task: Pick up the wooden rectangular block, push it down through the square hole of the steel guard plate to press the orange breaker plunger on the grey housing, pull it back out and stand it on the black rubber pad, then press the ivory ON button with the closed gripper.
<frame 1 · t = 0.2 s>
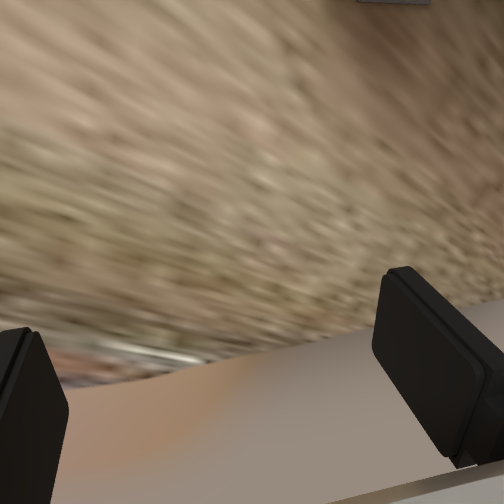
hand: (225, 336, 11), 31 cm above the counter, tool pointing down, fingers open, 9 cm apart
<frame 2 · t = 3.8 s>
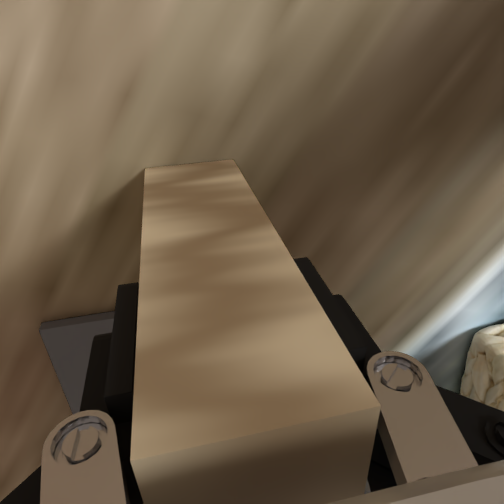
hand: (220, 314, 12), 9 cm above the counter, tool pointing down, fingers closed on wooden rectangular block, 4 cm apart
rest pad: (125, 359, 23), on the counter
wooden rectangular block: (194, 204, 19), on the counter, touching gripper
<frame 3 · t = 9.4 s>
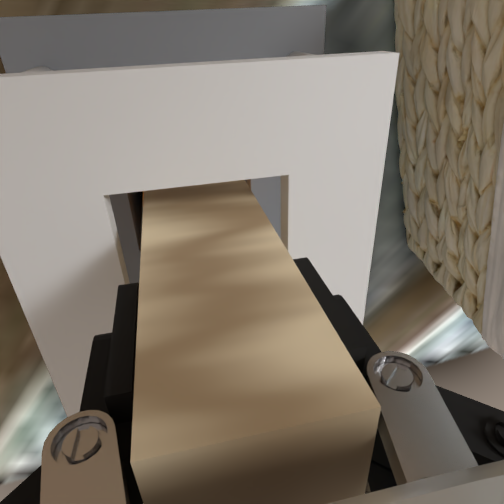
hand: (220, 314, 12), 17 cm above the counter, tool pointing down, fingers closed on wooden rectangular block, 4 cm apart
breaker plunger: (187, 177, 22), point 5 cm above the counter, slide at 3.0 cm, touching wooden rectangular block
grey housing: (190, 220, 29), on the counter
wooden rectangular block: (194, 205, 19), point 9 cm above the counter, touching breaker plunger, gripper
storage basket: (476, 102, 30), on the counter
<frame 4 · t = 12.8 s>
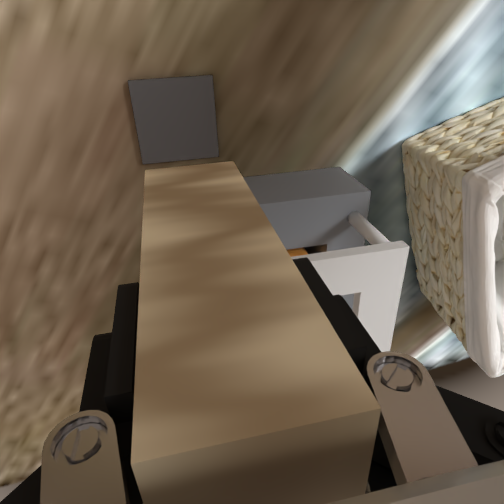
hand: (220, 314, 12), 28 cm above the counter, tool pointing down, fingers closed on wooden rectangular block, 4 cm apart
breaker plunger: (287, 266, 40), point 5 cm above the counter, slide at 3.0 cm
grey housing: (275, 280, 46), on the counter
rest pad: (176, 120, 35), on the counter
wooden rectangular block: (194, 205, 19), point 19 cm above the counter, touching gripper
storage basket: (458, 202, 47), on the counter
when the fingers open (11 cm above the counter, at t = 16.1 s): wooden rectangular block drops 1 cm, resting on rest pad.
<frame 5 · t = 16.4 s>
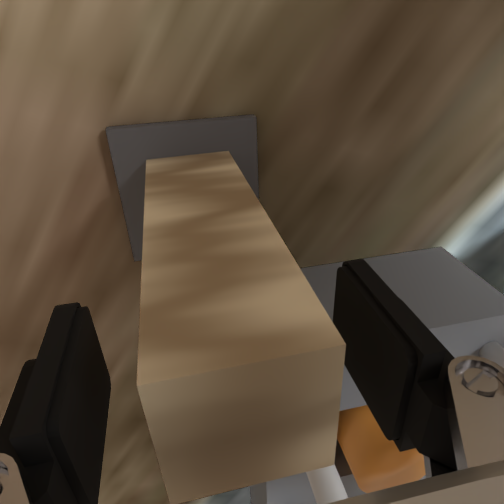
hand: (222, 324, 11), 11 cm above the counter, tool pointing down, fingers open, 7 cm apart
breaker plunger: (364, 408, 25), point 5 cm above the counter, slide at 3.0 cm
grey housing: (330, 399, 32), on the counter
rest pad: (190, 189, 21), on the counter
wooden rectangular block: (193, 193, 20), point 1 cm above the counter, touching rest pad
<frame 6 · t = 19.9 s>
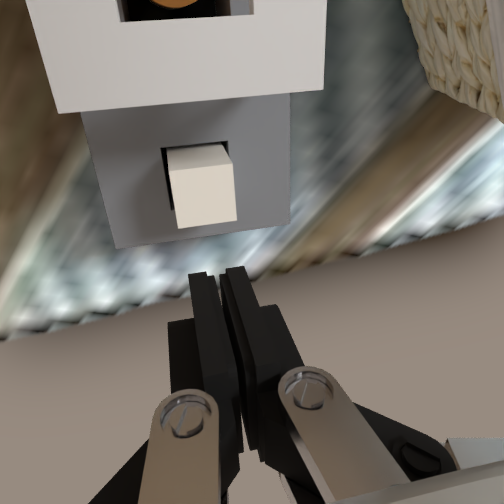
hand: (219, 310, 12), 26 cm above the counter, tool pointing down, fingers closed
grey housing: (177, 48, 31), on the counter
on button: (199, 178, 29), point 7 cm above the counter, slide at 0.0 cm
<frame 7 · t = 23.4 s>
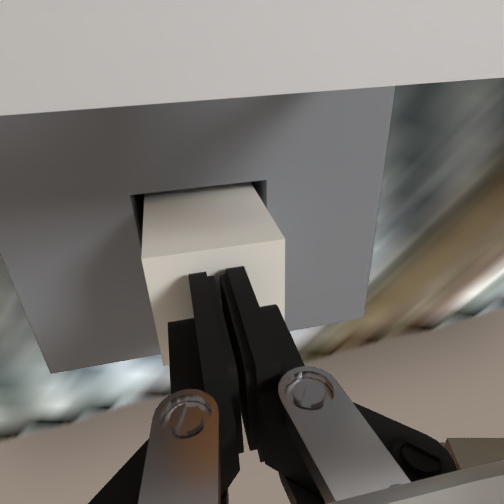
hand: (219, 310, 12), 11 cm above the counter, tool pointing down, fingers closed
grey housing: (170, 5, 17), on the counter
on button: (207, 249, 15), point 7 cm above the counter, slide at 0.3 cm, touching gripper
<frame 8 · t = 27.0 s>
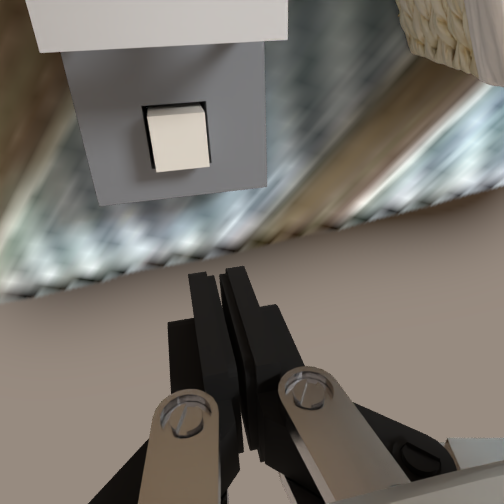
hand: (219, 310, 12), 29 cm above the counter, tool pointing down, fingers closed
grey housing: (160, 17, 33), on the counter
on button: (177, 131, 32), point 6 cm above the counter, slide at 1.9 cm
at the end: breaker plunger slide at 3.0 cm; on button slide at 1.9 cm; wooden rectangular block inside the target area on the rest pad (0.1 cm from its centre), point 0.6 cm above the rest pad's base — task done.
